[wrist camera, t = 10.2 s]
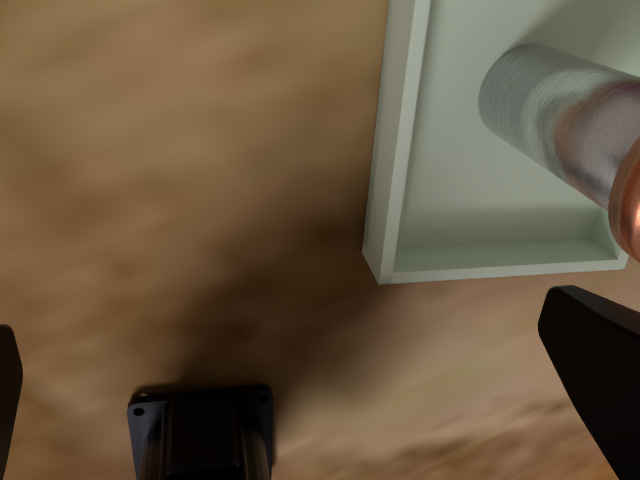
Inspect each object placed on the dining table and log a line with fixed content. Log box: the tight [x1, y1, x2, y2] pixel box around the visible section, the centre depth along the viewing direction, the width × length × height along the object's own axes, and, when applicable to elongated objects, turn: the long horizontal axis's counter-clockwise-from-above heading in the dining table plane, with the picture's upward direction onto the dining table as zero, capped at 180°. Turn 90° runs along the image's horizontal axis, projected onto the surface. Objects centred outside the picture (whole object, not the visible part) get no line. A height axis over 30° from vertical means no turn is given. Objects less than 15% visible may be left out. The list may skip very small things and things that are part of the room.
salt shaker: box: [478, 44, 640, 263], centre depth 17 cm, size 5×5×10 cm
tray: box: [362, 0, 640, 285], centre depth 21 cm, size 14×11×2 cm
